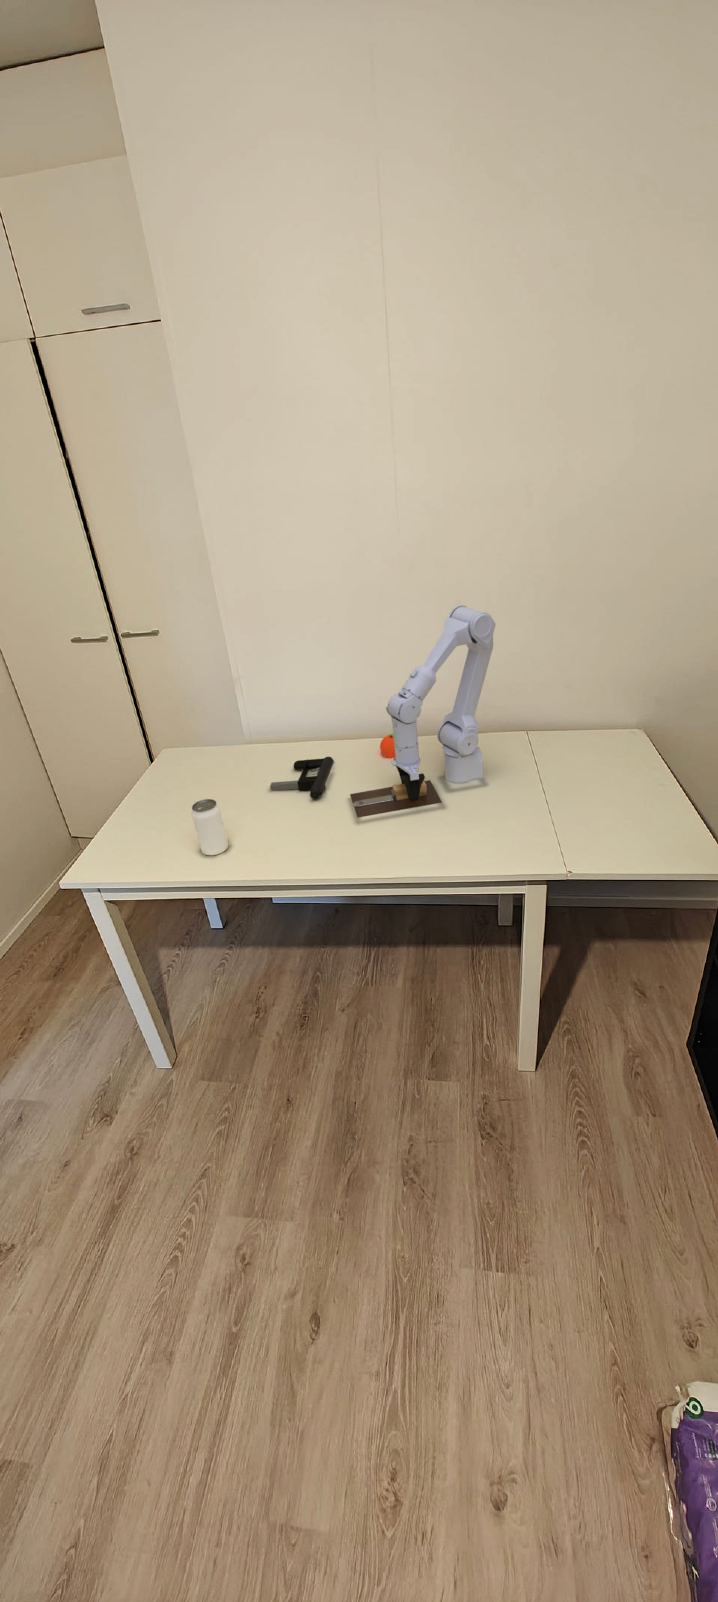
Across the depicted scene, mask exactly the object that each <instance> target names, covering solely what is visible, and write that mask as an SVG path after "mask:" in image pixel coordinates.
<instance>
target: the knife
mask: <svg viewBox="0 0 718 1602" xmlns="http://www.w3.org/2000/svg"><path fill="white" fill-rule="evenodd" d="M424 781H425V780H424ZM424 781H423V783H422V785H421V788H420V793H419V796H424V795H427V789H426V784H425V782H424ZM392 787H393V790H391V795H388V796H382V797H376V798H371V799H365V800H359V801H356V802H354V806H355V807H363V806H369V805H374V804H380V803H385V802H391V801H397V800H402V799H408V798H409V797H408V794H407V790H406V787H405V784H402V783H399V784H393V785H392ZM354 806H353V807H354Z"/></svg>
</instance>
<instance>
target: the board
mask: <svg viewBox="0 0 718 1602" xmlns="http://www.w3.org/2000/svg"><path fill="white" fill-rule="evenodd" d="M424 782H425V784H426V789H427V795H424V796H419V798H418V800H414V801H410V800H409V798H408V799H402V800H397V801H391V802H385V803H380V804H374V805H369V806H363V807H355V806H354V802H356V801H359V800H365V799H371V798H376V797H382V796H388V795H391V790H393V786H389V787H388V786H387V787H383V788H377V789H371V790H365V791H359V792H355V793H350V794H349V796H350V799H351V802H352V805H353V808H354V811H355V815H356V818H357V819H359V818H365V817H369V816H370V817H371V816H376V815H381V814H387V813H393V812H397V811H404V810H410V809H414V808H421V807H426V806H430V805H437V804H443V801H442V799H441V798H440V795H439V794H438V791H437V790H436V789H435V787H434V784H433V783H432V781H431V779H428V780H424Z"/></svg>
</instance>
